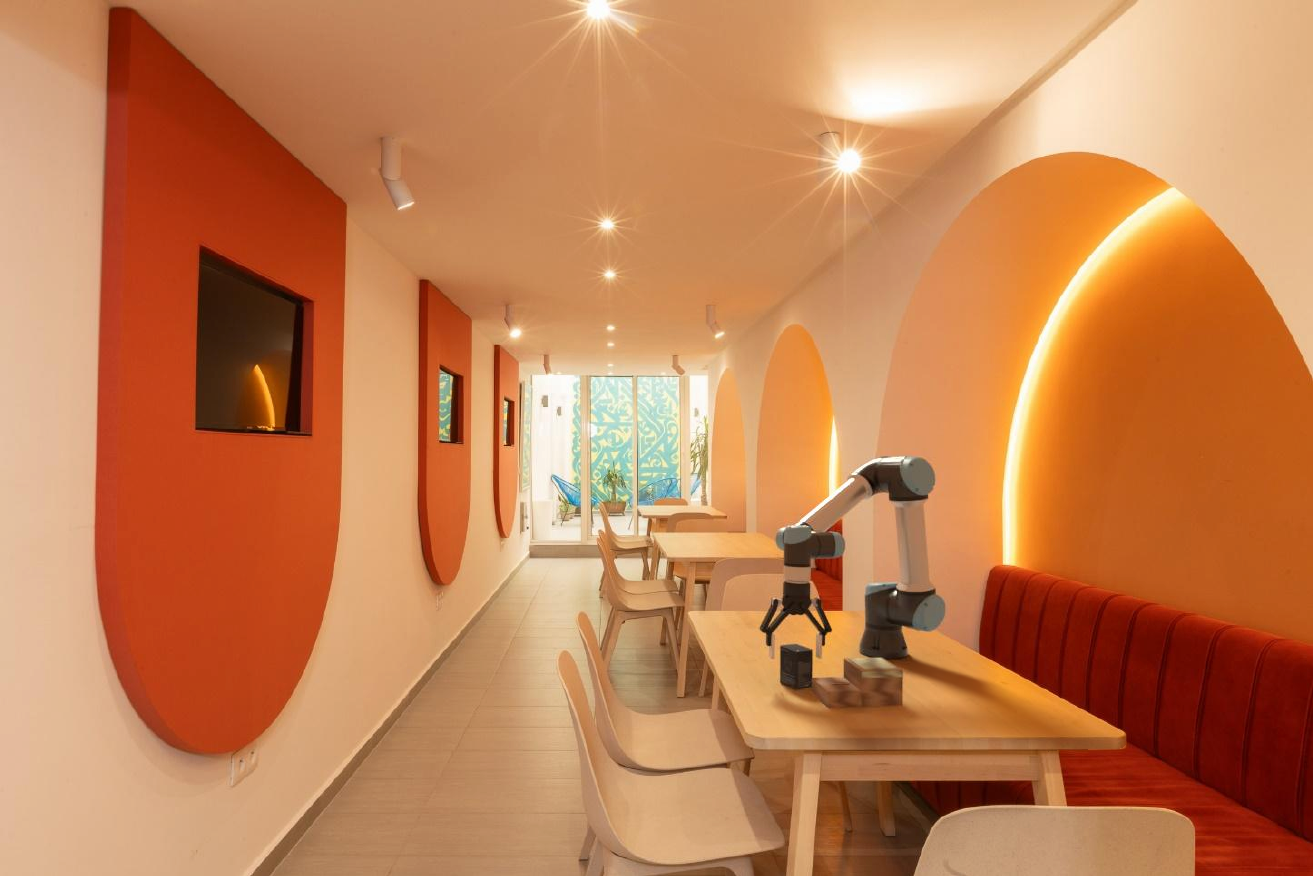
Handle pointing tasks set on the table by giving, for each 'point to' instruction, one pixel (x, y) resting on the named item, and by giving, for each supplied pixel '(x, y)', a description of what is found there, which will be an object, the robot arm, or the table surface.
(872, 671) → the stand
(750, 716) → the table surface
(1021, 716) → the table surface
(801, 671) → the box
